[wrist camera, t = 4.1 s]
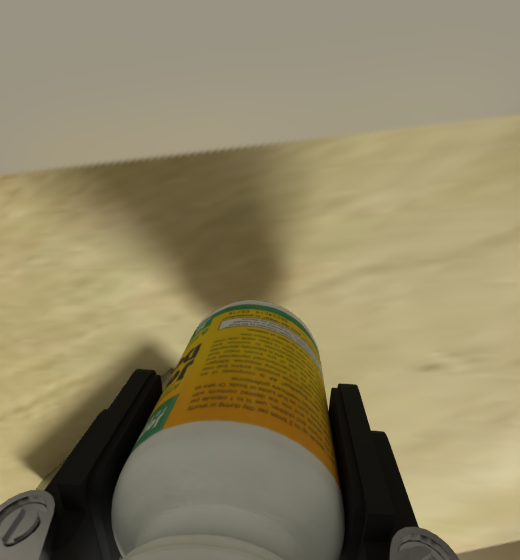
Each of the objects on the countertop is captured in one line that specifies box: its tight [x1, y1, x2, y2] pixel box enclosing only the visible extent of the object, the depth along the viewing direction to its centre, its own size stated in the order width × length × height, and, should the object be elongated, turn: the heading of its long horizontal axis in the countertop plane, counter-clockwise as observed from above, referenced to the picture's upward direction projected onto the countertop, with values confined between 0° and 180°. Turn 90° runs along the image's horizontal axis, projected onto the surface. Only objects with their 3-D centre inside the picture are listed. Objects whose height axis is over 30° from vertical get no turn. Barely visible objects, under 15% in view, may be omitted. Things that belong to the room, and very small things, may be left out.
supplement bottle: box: [111, 300, 345, 560], centre depth 9 cm, size 5×5×10 cm
